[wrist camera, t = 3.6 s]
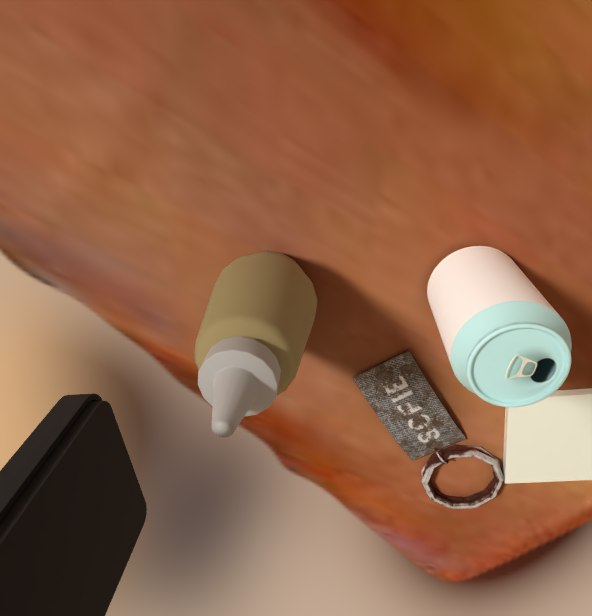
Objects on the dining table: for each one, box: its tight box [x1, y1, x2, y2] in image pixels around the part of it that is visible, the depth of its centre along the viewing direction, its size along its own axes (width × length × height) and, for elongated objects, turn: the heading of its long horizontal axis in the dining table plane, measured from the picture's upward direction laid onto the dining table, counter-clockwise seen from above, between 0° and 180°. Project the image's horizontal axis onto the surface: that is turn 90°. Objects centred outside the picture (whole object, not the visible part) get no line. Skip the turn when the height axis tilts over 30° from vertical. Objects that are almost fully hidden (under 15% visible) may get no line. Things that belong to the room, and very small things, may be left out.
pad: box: [503, 388, 592, 483], centre depth 44 cm, size 10×10×1 cm
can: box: [427, 246, 572, 407], centre depth 34 cm, size 7×7×12 cm
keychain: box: [353, 350, 504, 509], centre depth 45 cm, size 8×19×2 cm, turn 34°
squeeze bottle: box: [195, 251, 318, 437], centre depth 32 cm, size 8×8×18 cm
